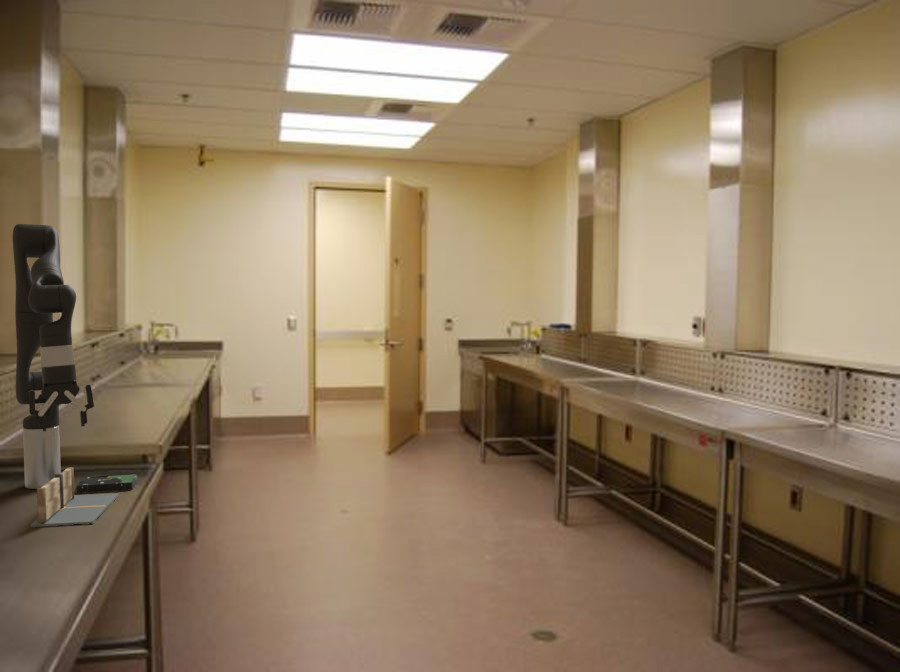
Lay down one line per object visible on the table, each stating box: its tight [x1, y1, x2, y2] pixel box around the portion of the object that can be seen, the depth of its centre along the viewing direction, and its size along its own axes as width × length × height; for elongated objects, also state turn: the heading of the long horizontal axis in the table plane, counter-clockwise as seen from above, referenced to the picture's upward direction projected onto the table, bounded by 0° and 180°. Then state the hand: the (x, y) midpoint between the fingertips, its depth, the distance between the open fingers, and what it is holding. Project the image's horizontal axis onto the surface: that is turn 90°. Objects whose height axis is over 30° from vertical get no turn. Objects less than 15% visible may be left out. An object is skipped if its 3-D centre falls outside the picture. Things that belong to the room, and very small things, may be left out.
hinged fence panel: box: [36, 478, 60, 522], centre depth 180 cm, size 12×2×8 cm, turn 11°
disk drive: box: [75, 474, 139, 494], centre depth 211 cm, size 10×3×15 cm
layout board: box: [29, 492, 120, 528], centre depth 189 cm, size 25×14×1 cm, turn 11°
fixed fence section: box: [55, 466, 75, 509], centre depth 192 cm, size 10×2×10 cm, turn 11°
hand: (63, 428), depth 183 cm, fingers open, 8 cm apart
